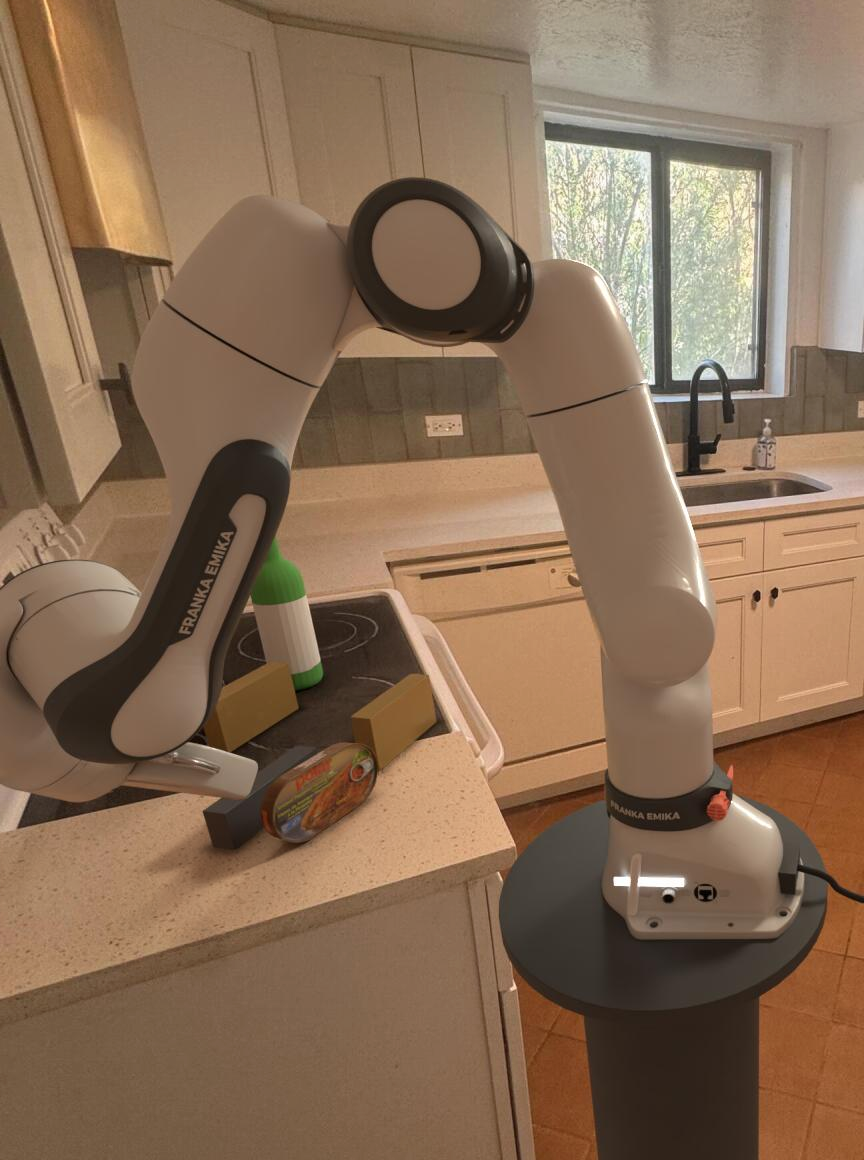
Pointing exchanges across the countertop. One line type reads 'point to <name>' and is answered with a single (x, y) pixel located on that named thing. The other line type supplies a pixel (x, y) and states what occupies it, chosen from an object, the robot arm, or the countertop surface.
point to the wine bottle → (286, 619)
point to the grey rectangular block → (249, 803)
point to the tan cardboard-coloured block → (251, 706)
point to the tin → (319, 792)
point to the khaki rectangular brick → (395, 718)
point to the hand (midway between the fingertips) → (204, 782)
